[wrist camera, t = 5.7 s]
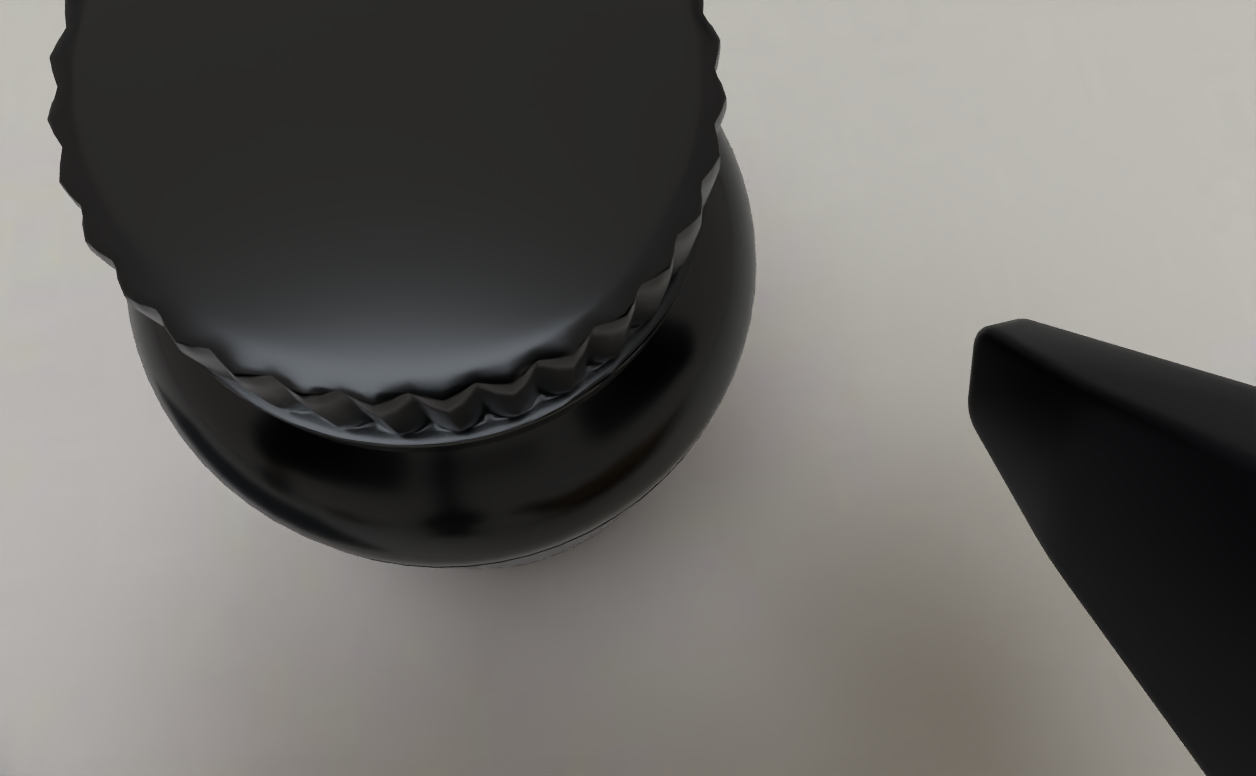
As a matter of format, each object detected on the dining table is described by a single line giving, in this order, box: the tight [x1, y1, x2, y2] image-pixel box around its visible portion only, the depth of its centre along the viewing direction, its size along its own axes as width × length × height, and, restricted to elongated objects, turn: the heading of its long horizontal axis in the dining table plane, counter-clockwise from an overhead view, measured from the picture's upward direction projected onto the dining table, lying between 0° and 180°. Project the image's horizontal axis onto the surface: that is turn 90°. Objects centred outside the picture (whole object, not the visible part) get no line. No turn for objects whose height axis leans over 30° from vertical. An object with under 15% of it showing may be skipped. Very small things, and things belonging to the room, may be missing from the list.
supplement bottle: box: [48, 0, 756, 569], centre depth 12 cm, size 7×7×12 cm
